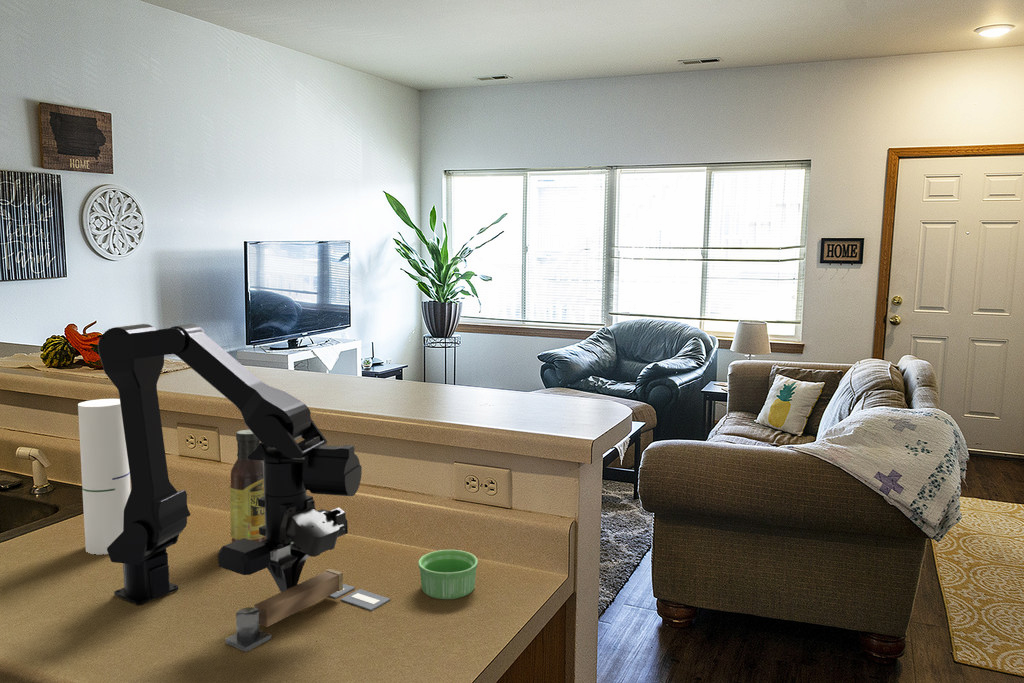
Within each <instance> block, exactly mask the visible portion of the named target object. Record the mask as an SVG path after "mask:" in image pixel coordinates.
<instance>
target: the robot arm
mask: <svg viewBox="0 0 1024 683" xmlns="http://www.w3.org/2000/svg"><path fill="white" fill-rule="evenodd" d="M97 342H98V343H97V350H98V356H99V357H100V358H99V359H100V361H101V364H102V368H103V372H104V374H105V375H106V376H107V377H108V378H109V381H111V383H112V384H113V385H114V387H115V388H116V390H117V391H118V397H119V398H118V399H120V405H121V412H122V420H123V427H124V435H125V442H126V449H127V457H128V464H129V472H130V490H131V492H130V495H129V497H128V500H127V503H126V505H125V508H124V516H123V532H122V533H121V534H120V535H119V536H118V537H117V538H116V539H115V540H114V541H113V542H112V543H111V544H110V546H109V547H108V548H107V552H108V554H107V555H108V558H109V560H110V562H111V563H117V564H122V569H123V570H122V571H123V586H124V587H121V588H120V589H116V590H115V591H114V592H113V594H114V595H113V596H116V597H118V598H120V599H122V600H125V601H127V602H129V603H131V604H133V605H136V606H140V605H144V604H146V603H149V602H152V601H154V600H156V599H158V598H159V599H160V598H161V597H164V596H166V595H169V594H171V593H173V592H176V591H179V589H180V588H179V585H177V584H175V583H173V582H171V581H170V566H169V555H168V554H169V553H168V552H167V548H169V547H171V546H172V545H175V544H177V543H178V539H179V536H180V534H181V533H182V532H183V531H184V530H185V528H186V527H187V524H188V517H190V516H191V512H190V510H189V507H188V504H187V503H188V494H187V491H186V489H181V490H177V489H176V488H175V486H174V485H173V483H172V482H171V481H170V478H169V471H168V465H167V464H168V463H167V456H166V449H165V441H164V433H163V425H162V416H161V411H160V403H159V396H158V387H157V386H158V381H159V379H160V376H161V373H162V371H163V367H164V365H165V356H166V355H168V356H169V355H174V356H176V357H177V358H179V359H180V360H181V361H182V362H184V364H186V365H187V366H188V367H189V368H191V369H192V370H193V371H194V372H195V373H197V374H198V375H199V376H200V377H201V378H203V380H205V382H207V383H208V384H209V385H210V386H212V387H213V388H214V389H215V390H216V391H218V392H219V393H220V394H221V395H223V397H225V398H226V399H227V400H228V401H229V402H231V403H232V405H234V406H235V407H236V409H237V410H239V411H240V414H241V416H242V419H243V421H244V424H245V425H246V427H247V428H248V430H251V432H252V433H253V434H254V435H255V436H256V437H257V439H258V440H259V441H260V443H259V444H258V446H257V448H256V449H255V450H254V451H253V452H252V453H251V454H249V455H248V459H249V460H259V461H263V475H264V497H262V498H259V499H258V506H260V507H264V508H265V525H264V526H262V527H259V534H260V535H263V536H266V540H263V541H261V542H255V541H252V540H249V539H245V538H243V539H240V540H238V541H235V542H232V541H231V542H230V543H227V544H225V545H223V546H222V547H221V548H220V549H219V551H218V554H217V555H218V556H217V558H218V561H217V562H218V567H219V568H221V569H224V570H228V571H230V572H233V573H235V574H239V575H242V576H250V575H251V576H252V575H253V574H256V573H257V572H261V571H262V570H265V569H267V570H268V571H269V573H270V575H271V577H272V578H273V580H274V583H275V584H276V585H277V588H278V589H279V591H280V593H281V592H283V591H285V590H287V589H289V588H291V587H294V586H296V585H298V583H299V580H300V578H301V574H302V571H303V568H304V566H305V564H306V561H307V559H309V558H310V557H318V556H320V555H321V554H322V553H325V552H327V551H332V550H333V549H335V547H336V543H337V541H338V538H340V537H342V536H345V535H346V534H348V533H349V532H348V528H349V527H348V520H347V518H346V517H347V516H346V511H344V510H343V509H342V508H340V507H336V508H334V509H331V510H327V509H323V508H321V509H318V510H317V509H316V504H315V503H316V501H315V500H314V496H312V495H308V493H307V491H309V492H310V493H311V494H313V495H326V496H327V495H330V496H342V497H353V496H355V495H356V493H357V492H358V490H359V488H360V485H361V480H362V474H363V473H362V470H363V469H362V465H361V463H360V459H359V457H358V455H357V454H355V446H354V445H353V444H352V445H351V444H349V445H348V444H344V445H327V444H328V441H327V439H326V437H325V436H324V435H323V433H322V432H321V430H320V429H319V427H318V426H317V425H316V423H315V422H314V421H313V419H312V417H311V413H312V412H311V410H310V409H309V407H308V406H307V404H306V403H304V402H303V401H301V400H300V399H298V398H297V397H295V396H292V394H290V393H288V392H286V391H284V390H281V389H279V388H276V387H273V386H270V385H269V384H266V383H265V382H263V381H261V380H260V379H259V378H258V377H257V376H256V375H255V374H253V373H252V372H251V371H250V370H248V369H247V368H246V367H245V366H244V365H243V364H241V363H240V362H239V361H238V360H237V359H236V358H235V357H233V356H232V355H231V354H230V353H228V352H227V351H226V350H225V349H224V348H222V347H221V346H220V345H219V344H218V343H217V342H215V341H214V340H213V339H211V338H210V336H208V335H207V334H206V331H205V330H204V329H203V328H202V327H201V326H199V325H198V324H197V325H196V324H192V323H188V324H182V325H181V324H180V325H175V326H171V327H170V328H169V327H167V328H160V329H158V328H156V327H154V326H153V325H151V324H149V323H141V324H140V323H138V324H132V325H131V324H130V325H122V326H116V327H111V328H109V329H107V330H106V331H105V332H103V334H102V335H101V337H99V339H98V341H97ZM301 438H302V439H303V440H302V441H299V442H297V441H296V440H298V439H301Z"/></svg>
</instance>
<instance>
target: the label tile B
mask: <svg viewBox="0 0 1024 683" xmlns="http://www.w3.org/2000/svg"><path fill="white" fill-rule="evenodd" d="M340 601H342V602H344V603H347V604H350V605H354V606H356V607H359V608H361V609H364V610H365V609H366V610H368V611H371V612H372V611H374V610H376V609H378V608H379V607H381V606H382V605H384V604H386V603H388V602H390V601H391V598H388V597H386V596H383V595H379V594H376V593H374V592H370V591H368V590H364V589H362V588H359V589H357V590H355V591H353V592H351V593H350V594H349V593H348V594H347V595H345V596H343V597H340Z"/></svg>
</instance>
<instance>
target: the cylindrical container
mask: <svg viewBox="0 0 1024 683" xmlns="http://www.w3.org/2000/svg"><path fill="white" fill-rule="evenodd" d="M77 411H78V412H77V414H78V429H79V430H78V432H79V448H80V450H79V451H80V452H79V453H80V466H81V470H80V471H81V486H82V488H81V490H82V504H83V508H82V509H83V524H84V541H85V542H84V543H85V544H84V545H85V552H86V553H87V552H88V554H89V553H90V555H94V554H96V555H99V556H100V555H103V554H104V555H109V554H108V552H107V548H108V547H109V546H110V544H111V543H112V542H113V541H114V540H115V539H116V538H117V537H118V536H119V535H120V534H121V533H122V532H123V516H124V508H125V505H126V503H127V500H128V497H129V495H130V492H131V479H130V472H129V464H128V457H127V449H126V442H125V435H124V427H123V420H122V412H121V405H120V398H101V399H100V398H98V399H90V400H86V401H81V402H79V403H78V404H77Z"/></svg>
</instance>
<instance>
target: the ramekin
mask: <svg viewBox="0 0 1024 683" xmlns="http://www.w3.org/2000/svg"><path fill="white" fill-rule="evenodd" d="M478 562H479V561H478V558H477V556H475V555H474V554H473V553H471V552H468V551H464V550H459V549H440V550H435V551H431V552H429V553H426V554H424V555H422V556H421V557H420V558H419V560H418V562H417V565H418V568H419V572H420V582H421V583H420V584H421V589H422V592H423V593H424V594H426V595H427V596H429V597H431V598H433V599H438V600H455V599H460V598H463V597H465V596H468V595H469V594H471V593H472V592H473V591H474V590H475V587H476V576H477V567H478Z"/></svg>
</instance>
